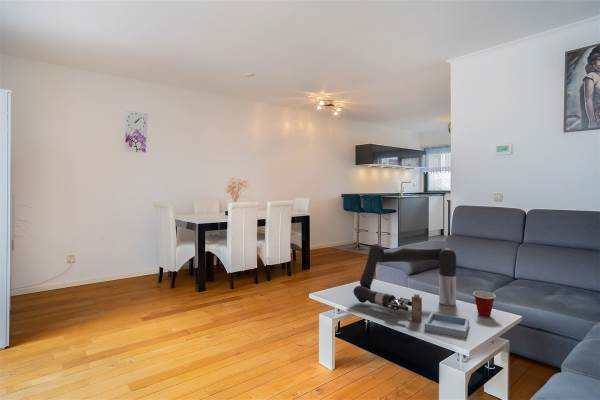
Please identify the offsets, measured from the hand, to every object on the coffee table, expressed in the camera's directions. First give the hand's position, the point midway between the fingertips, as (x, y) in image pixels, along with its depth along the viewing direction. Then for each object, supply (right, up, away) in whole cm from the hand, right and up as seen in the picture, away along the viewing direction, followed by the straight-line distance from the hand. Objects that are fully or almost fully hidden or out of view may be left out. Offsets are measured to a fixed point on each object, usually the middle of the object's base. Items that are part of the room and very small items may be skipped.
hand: (412, 306), depth 177 cm
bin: (+14, -7, -11) cm, 19 cm away
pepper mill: (+2, -7, -1) cm, 7 cm away
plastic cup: (+41, -7, +5) cm, 42 cm away
